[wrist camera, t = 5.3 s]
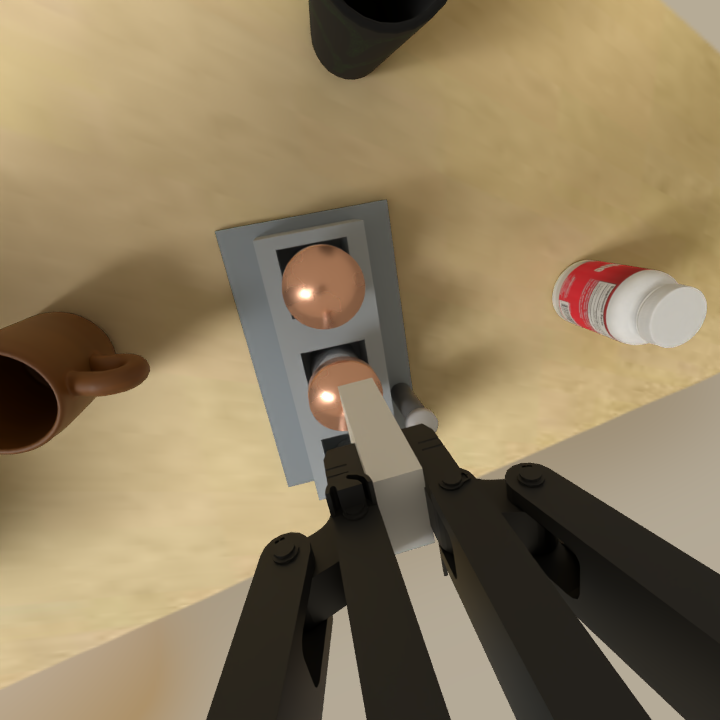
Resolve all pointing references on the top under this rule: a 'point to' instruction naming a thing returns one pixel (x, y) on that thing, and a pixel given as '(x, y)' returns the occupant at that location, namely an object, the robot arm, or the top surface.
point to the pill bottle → (629, 303)
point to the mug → (56, 376)
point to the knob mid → (335, 382)
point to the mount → (296, 341)
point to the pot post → (412, 407)
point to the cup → (364, 31)
